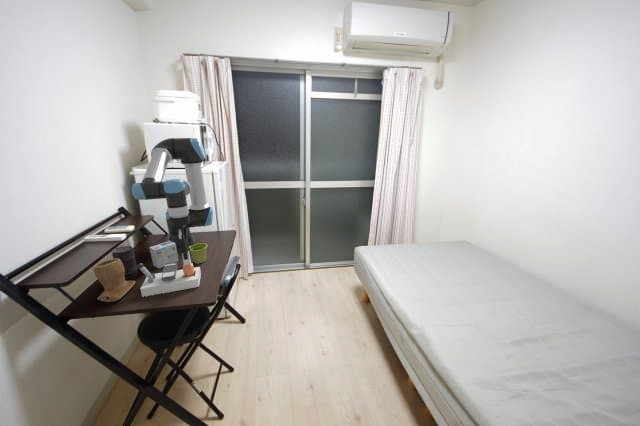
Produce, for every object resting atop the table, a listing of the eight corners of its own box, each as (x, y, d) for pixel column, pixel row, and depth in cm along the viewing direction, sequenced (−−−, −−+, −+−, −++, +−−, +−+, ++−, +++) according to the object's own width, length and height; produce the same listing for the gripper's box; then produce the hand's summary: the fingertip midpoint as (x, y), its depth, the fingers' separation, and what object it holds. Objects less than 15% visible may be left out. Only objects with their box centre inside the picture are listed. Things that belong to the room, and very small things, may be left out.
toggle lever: (150, 279, 115) (136, 263, 111) (156, 276, 115) (141, 261, 111) (149, 282, 112) (134, 266, 109) (154, 279, 113) (140, 263, 109)
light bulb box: (173, 257, 144) (169, 240, 140) (179, 261, 140) (176, 242, 137) (152, 265, 135) (148, 246, 132) (158, 269, 131) (154, 249, 128)
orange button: (185, 275, 120) (183, 263, 118) (195, 273, 122) (193, 262, 120) (183, 279, 116) (181, 268, 114) (194, 278, 118) (192, 266, 116)
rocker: (165, 266, 118) (164, 263, 117) (177, 264, 120) (176, 261, 119) (162, 281, 111) (161, 277, 110) (175, 279, 113) (174, 275, 112)
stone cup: (111, 285, 117) (103, 255, 113) (139, 282, 119) (132, 253, 115) (88, 305, 103) (78, 272, 99) (120, 303, 105) (112, 270, 100)
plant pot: (202, 266, 134) (200, 251, 132) (186, 264, 136) (184, 249, 133) (212, 258, 143) (210, 243, 140) (198, 256, 145) (195, 242, 142)
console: (149, 282, 119) (147, 271, 117) (200, 273, 126) (199, 263, 125) (142, 297, 108) (139, 284, 107) (198, 286, 116) (196, 275, 114)
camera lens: (116, 283, 119) (108, 253, 114) (121, 275, 126) (114, 247, 122) (137, 279, 122) (130, 250, 118) (141, 271, 129) (134, 244, 125)
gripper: (172, 212, 115) (180, 259, 122) (166, 220, 103) (176, 272, 110) (190, 210, 117) (197, 257, 124) (186, 218, 106) (195, 269, 112)
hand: (187, 264), depth 117 cm, fingers closed
